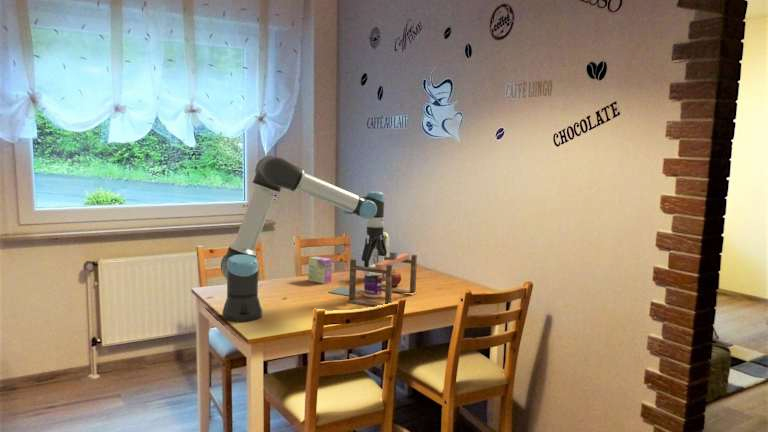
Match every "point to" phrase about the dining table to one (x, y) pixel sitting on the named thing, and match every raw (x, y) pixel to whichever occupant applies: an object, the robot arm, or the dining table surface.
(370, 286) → the pill bottle
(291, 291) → the dining table surface
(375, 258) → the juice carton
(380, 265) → the bar
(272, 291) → the dining table surface
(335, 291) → the coaster
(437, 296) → the dining table surface
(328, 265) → the box
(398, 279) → the apple
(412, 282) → the frame
